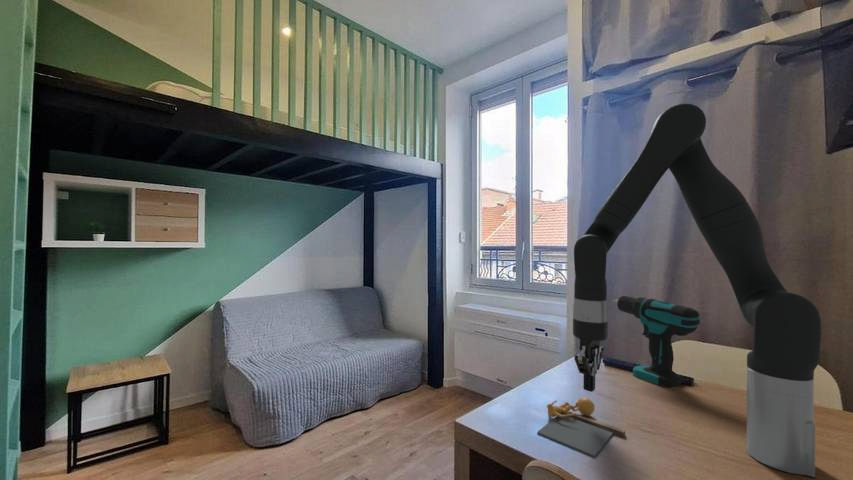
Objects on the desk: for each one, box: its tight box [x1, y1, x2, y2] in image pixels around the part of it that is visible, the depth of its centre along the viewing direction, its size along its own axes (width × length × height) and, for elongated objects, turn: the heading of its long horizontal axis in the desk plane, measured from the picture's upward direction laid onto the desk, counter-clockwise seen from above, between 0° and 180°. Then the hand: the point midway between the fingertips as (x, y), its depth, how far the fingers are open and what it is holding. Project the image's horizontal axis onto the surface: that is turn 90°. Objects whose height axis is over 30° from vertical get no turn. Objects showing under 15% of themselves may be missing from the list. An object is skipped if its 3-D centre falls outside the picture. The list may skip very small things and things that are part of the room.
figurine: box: [546, 397, 595, 418], centre depth 85 cm, size 8×6×12 cm
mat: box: [537, 414, 614, 458], centre depth 77 cm, size 12×12×1 cm
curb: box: [561, 410, 626, 438], centre depth 82 cm, size 16×1×1 cm, turn 46°
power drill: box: [612, 295, 701, 389], centre depth 111 cm, size 26×9×25 cm, turn 25°
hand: (589, 389), depth 83 cm, fingers closed
